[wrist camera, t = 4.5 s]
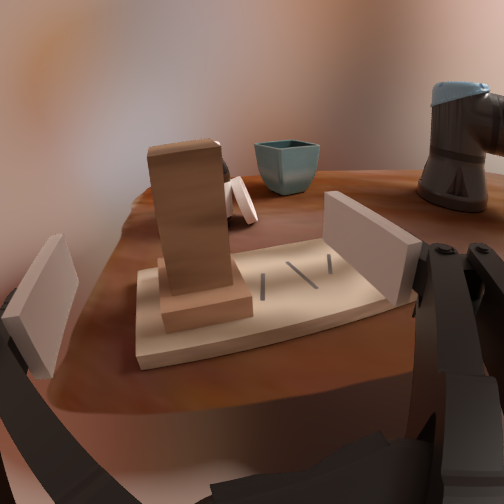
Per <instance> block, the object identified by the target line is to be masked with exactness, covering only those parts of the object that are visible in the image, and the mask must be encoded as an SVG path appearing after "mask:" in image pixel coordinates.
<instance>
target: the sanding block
mask: <svg viewBox="0 0 504 504" xmlns="http://www.w3.org/2000/svg"><path fill="white" fill-rule="evenodd" d="M221 154H222V153H221V146H220V145H219V144H217V143H216V142H214V141H213V140H211V139H201V140H193V141H186V142H179V143H172V144H165V145H159V146H153V147H149V149H148V154H147V161H148V168H149V175H150V182H151V188H152V195H153V201H154V207H155V213H156V219H157V224H158V230H159V235H160V241H161V246H162V251H163V256H164V258H158V279H159V295H160V308H161V316H162V320H163V323H164V327H165V331H166V334H169V333H174V332H180V331H185V330H190V329H196V328H201V327H206V326H211V325H216V324H221V323H225V322H230V321H235V320H240V319H244V318H249V317H253V316H254V315H253V300H252V295H251V293H250V291H249V289H248V287H247V285H246V283H245V281H244V279H243V277H242V275H241V273H240V271H239V269H238V267H237V265H236V263H235V261H234V259H233V257H232V255H231V253H230V245H229V234H228V223H227V212H226V201H225V189H224V177H223V165H222V155H221Z"/></svg>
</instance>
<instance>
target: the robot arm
mask: <svg viewBox="0 0 504 504" xmlns="http://www.w3.org/2000/svg"><path fill="white" fill-rule="evenodd" d="M489 92H490V89H489V86H488V85H486V84H482V83H473V82H440V83H437V84H436V85H435V86H434V87H433V90H432V104H431V107H432V120H431V139H430V153H429V157H428V160H427V162H426V165H425V167H424V170H423V173H422V176H421V177H420V179H419V181H418V189H417V193H418V194H419V195H420V196H421V197H422V198H424V199H425V200H427V201H429V202H431V203H434V204H436V205H439V206H442V207H446V208H450V209H454V210H459V211H466V212H480V211H483V210H485V209H486V207H487V201H488V193H487V183H486V176H485V169H484V165H485V156H486V153H490V154H493V155H499V156H502V157H504V96H502V95H496V94H492V93H489ZM323 241H324V242H325V243H326V244H328V245H329V246H330V247H331V248H332V249H333V250H334V251H335V252H336V253H338V254H339V255H340V256H341V257H342V258H343V259H344V260H345V261H346V262H348V263H349V264H350V265H351V266H352V267H353V268H354V269H355V270H356V271H357V272H359V273H360V274H361V275H362V276H363V277H364V278H365V279H366V280H367V281H368V282H369V283H370V284H371V285H373V286H374V287H375V288H376V289H377V290H378V291H379V292H380V293H381V294H382V295H383V296H384V297H385V298H386V299H387V300H388V301H390V302H391V303H392V304H393V305H394V306H395V307H397V306H400V305H403V304H406V303H409V301H410V297H411V293H412V289H413V290H414V291H415V292H416V293H417V294H418V296H417V300H416V304H415V308H414V311H413V315H412V317H415V315H416V331H415V353H414V368H413V381H412V391H411V401H410V409H409V417H408V424H407V430H406V434H405V438H393V439H385V438H384V436H383V435H382V433H381V432H380V431H377V432H375V433H373V434H370V435H368V436H366V437H364V438H361V439H359V440H357V441H354V442H352V443H350V444H347V445H344V446H343V447H341V448H340V449H338V450H337V451H335V452H334V453H332V454H331V455H329V456H328V457H327V458H325V459H323V460H322V461H320V462H319V463H317V464H316V465H314V466H313V467H311V468H309V469H308V470H305V471H301V472H290V473H277V474H259V475H251V476H248V477H243V478H239V479H235V480H230V481H225V482H221V483H216V484H210V488H211V492H212V495H211V496H208V497H206V498H204V499H202V500H200V501H199V502H197V503H195V504H504V459H503V457H504V456H503V431H502V418H501V408H502V411H503V414H504V262H503V260H502V259H501V258H500V257H499V256H498V255H497V254H496V252H495V251H494V250H493V249H491V248H490V247H488V246H487V245H486V244H483V243H472V244H470V245H469V248H468V252H467V254H458V252H457V251H456V250H455V249H454V248H453V247H451V246H448V245H446V244H439V243H435V244H431V245H428V244H427V243H425V242H424V241H422V240H420V239H419V238H417V237H416V236H413V234H411V233H409V232H407V231H406V230H405V229H403V228H401V227H400V226H397V225H395V224H394V223H392V222H390V221H389V220H387V219H385V218H384V217H382V216H380V215H379V214H377V213H375V212H374V211H372V210H370V209H369V208H367V207H365V206H363V205H362V204H360V203H358V202H356V201H355V200H353V199H351V198H349V197H348V196H346V195H344V194H342V193H340V192H339V191H330V192H325V195H324V223H323ZM78 285H79V280H78V277H77V274H76V271H75V268H74V264H73V261H72V258H71V255H70V251H69V248H68V244H67V241H66V237H65V234H64V233H60V234H55V235H51V236H50V237H49V239H48V240H47V242H46V243H45V245H44V246H43V248H42V249H41V251H40V252H39V254H38V255H37V257H36V258H35V260H34V262H33V263H32V265H31V266H30V268H29V270H28V271H27V273H26V275H25V276H24V278H23V280H22V281H21V283H20V285H19V286H18V288H15V289H14V290H13V291H12V292H11V293H10V294H9V295H8V296H7V298H6V300H5V301H4V304H3V305H2V306H1V308H0V417H1V419H2V421H3V423H4V425H5V427H6V429H7V431H8V432H9V434H10V436H11V438H12V440H13V441H14V443H15V445H16V446H17V448H18V450H19V451H20V453H21V455H22V456H23V458H24V459H25V461H26V463H27V464H28V465H29V467H30V469H31V470H32V472H33V473H34V475H35V476H36V478H37V479H38V480H39V482H40V483H41V484H42V486H43V487H44V489H45V490H46V492H47V493H48V494H49V495H50V497H51V498H52V500H53V501H54V502H55V504H142V503H141V502H140V501H138V500H137V499H136V498H135V497H134V496H133V495H131V494H130V493H129V492H128V491H127V490H126V489H125V488H123V486H121V485H120V484H119V483H118V482H117V481H116V480H115V479H114V478H113V477H112V476H111V475H110V474H109V473H108V472H107V471H106V470H105V469H103V468H102V467H101V466H100V465H99V464H98V463H97V462H96V461H95V460H94V459H93V458H92V457H91V456H90V455H89V454H88V453H87V451H86V450H85V449H84V448H83V447H82V446H81V445H80V444H79V443H78V442H77V441H76V439H75V438H74V437H73V436H72V435H71V433H70V432H69V431H68V430H67V429H66V428H65V426H64V425H63V424H62V423H61V421H59V419H58V418H57V416H56V415H55V414H54V413H53V412H52V410H51V409H50V408H49V406H48V405H47V404H46V402H45V401H44V400H43V398H42V397H41V395H40V394H39V393H38V391H37V390H36V388H35V387H34V386H33V384H32V383H31V381H30V380H29V378H28V377H27V375H26V374H27V371H28V368H29V370H30V372H31V373H32V375H33V376H34V378H35V379H36V380H38V379H51V378H53V375H54V370H55V366H56V361H57V357H58V353H59V349H60V346H61V342H62V338H63V334H64V331H65V327H66V323H67V320H68V316H69V313H70V310H71V306H72V303H73V300H74V297H75V294H76V291H77V288H78ZM483 293H484V295H483ZM482 359H483V360H482ZM483 362H484V364H485V366H486V369H487V371H488V373H489V376H485V374H484V367H483ZM500 406H501V408H500ZM0 504H16V503H15V500H14V497H13V494H12V491H11V488H10V485H9V482H8V478H7V476H6V472H5V468H4V465H3V461H2V457H1V453H0Z"/></svg>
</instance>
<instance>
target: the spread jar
mask: <svg viewBox="0 0 504 504" xmlns="http://www.w3.org/2000/svg"><path fill="white" fill-rule="evenodd" d="M214 142H216V141H214ZM216 143H217V144H219V145H220V143H219V142H216ZM222 165H223V177H224V189H225V201H226V212H227V222H228V221H230V219H231V217H232V214H233V201H232V189H233V192H234V195H235V198H236V200H237V203H238V205H239V208H240V210H241V212H242V214H243V216H244V218H245V220H246V222H247V223H248V224H251V223H254V222H256V221H258V219H257V215H256V212H255V209H254V206H253V203H252V201H251V198H250V196H249V193H248V191H247V189H246V186H245V184H244V182H243V180H242V178H241V177H240V176H239V177H236V178H234V179H230V174H229V170H228V167H227V165H226V163H225V162H224V160H223V158H222ZM231 185H232V188H231Z"/></svg>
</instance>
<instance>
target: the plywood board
mask: <svg viewBox="0 0 504 504" xmlns="http://www.w3.org/2000/svg"><path fill="white" fill-rule="evenodd" d="M231 255H232V257H233V259H234V261H235V263H236V265H237V267H238V269H239V271H240V273H241V275H242V277H243V279H244V281H245V283H246V285H247V287H248V289H249V291H250V293H251V295H252V300H253V315H254V316H253V317H249V318H244V319H240V320H235V321H230V322H225V323H221V324H216V325H211V326H206V327H201V328H196V329H190V330H185V331H180V332H174V333H169V334H166V331H165V327H164V323H163V320H162V316H161V308H160V295H159V279H158V267H157V268H151V269H145V270H140V271H138V279H137V302H136V358H137V361H138V363H139V366H140V368H141V370H146V369H153V368H159V367H164V366H170V365H176V364H181V363H187V362H192V361H197V360H202V359H207V358H212V357H217V356H222V355H227V354H231V353H236V352H240V351H245V350H249V349H253V348H257V347H262V346H266V345H270V344H274V343H278V342H282V341H286V340H290V339H294V338H297V337H301V336H305V335H308V334H312V333H316V332H319V331H323V330H326V329H330V328H333V327H337V326H340V325H343V324H347V323H350V322H353V321H356V320H360V319H363V318H366V317H369V316H372V315H375V314H379V313H382V312H385V311H388V310H391V309H394V308H396V307H395V306H394V305H393V304H392V303H391V302H390V301H388V300H387V299H386V298H385V297H384V296H383V295H382V294H381V293H380V292H379V291H378V290H377V289H376V288H375V287H374V286H373V285H371V284H370V283H369V282H368V281H367V280H366V279H365V278H364V277H363V276H362V275H361V274H360V273H359V272H357V271H356V270H355V269H354V268H353V267H352V266H351V265H350V264H349V263H348V262H346V261H345V260H344V259H343V258H342V257H341V256H340V255H339V254H338V253H336V252H335V251H334V250H333V249H332V248H331V247H330V246H329V245H328V244H326V243H325V242H324V241H323V238H319V239H314V240H308V241H302V242H297V243H291V244H286V245H280V246H274V247H269V248H263V249H257V250H252V251H246V252H241V253H235V254H231ZM417 296H418V294H417V293H416V292H415V291H414V290H413V289H412V293H411V297H410V301H409V303H411V302H414V301H416V300H417ZM406 304H408V303H406ZM403 305H405V304H403ZM400 306H402V305H400ZM397 307H399V306H397Z"/></svg>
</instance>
